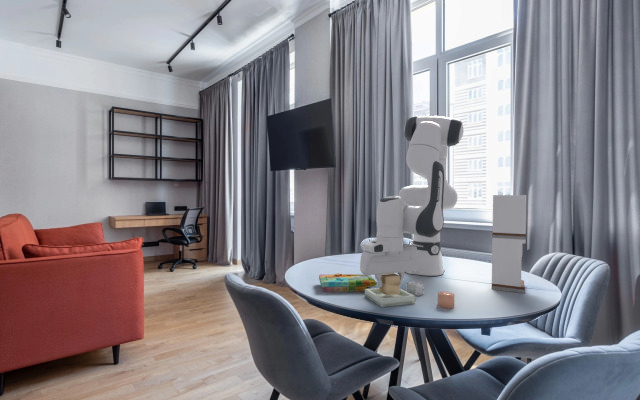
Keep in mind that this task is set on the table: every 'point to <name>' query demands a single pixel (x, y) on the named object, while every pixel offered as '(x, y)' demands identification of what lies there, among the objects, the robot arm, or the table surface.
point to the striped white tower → (508, 242)
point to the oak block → (390, 284)
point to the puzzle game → (346, 282)
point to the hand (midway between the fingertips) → (389, 286)
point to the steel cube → (415, 288)
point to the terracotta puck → (446, 300)
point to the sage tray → (389, 298)
